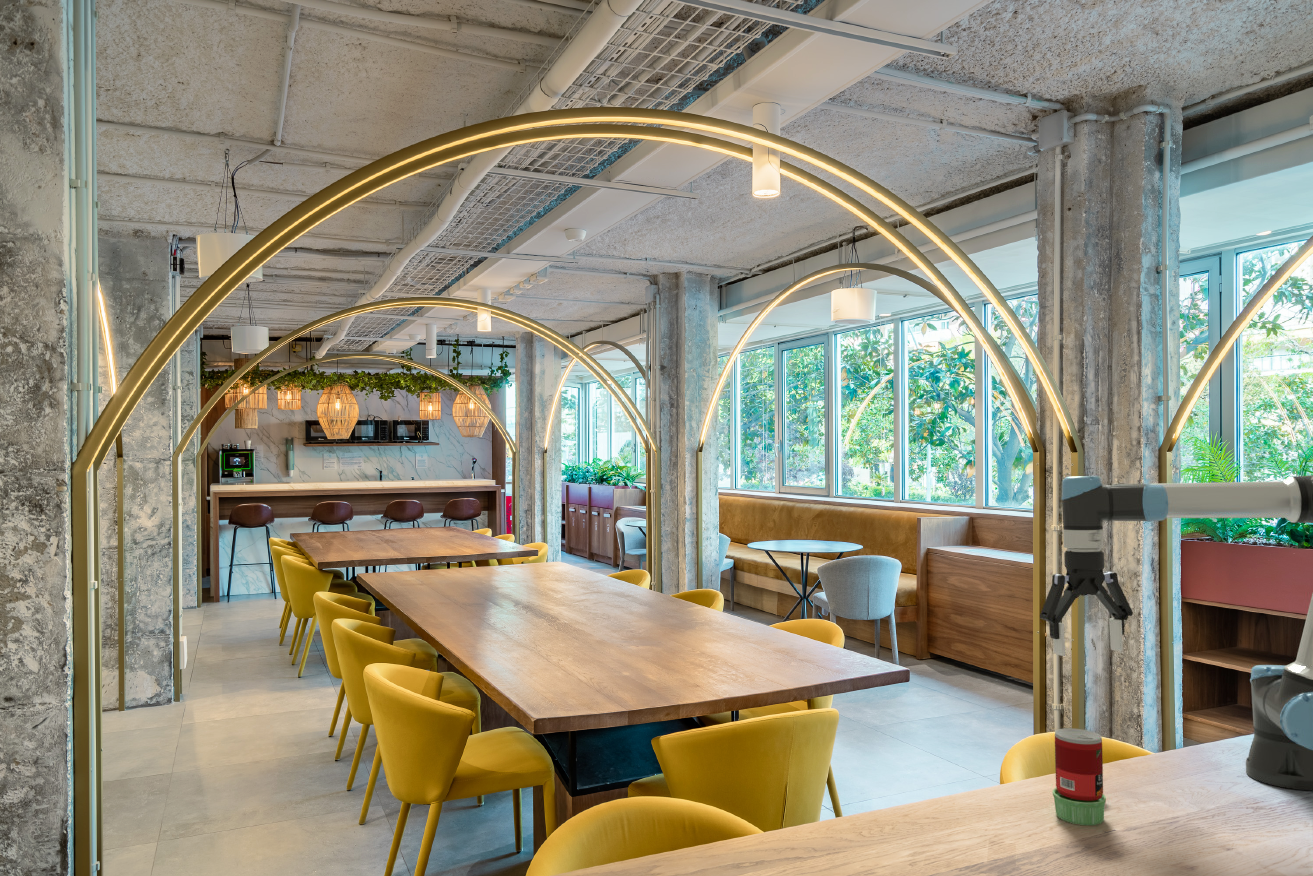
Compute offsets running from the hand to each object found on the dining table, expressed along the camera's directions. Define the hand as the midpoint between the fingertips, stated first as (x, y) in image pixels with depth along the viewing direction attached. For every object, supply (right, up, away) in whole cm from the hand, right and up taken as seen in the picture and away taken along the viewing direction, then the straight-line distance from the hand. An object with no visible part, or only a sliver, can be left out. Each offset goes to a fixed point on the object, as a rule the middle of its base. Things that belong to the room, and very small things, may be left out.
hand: (1088, 652), depth 184 cm
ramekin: (-11, -26, -19) cm, 34 cm away
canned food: (-11, -22, -19) cm, 31 cm away
